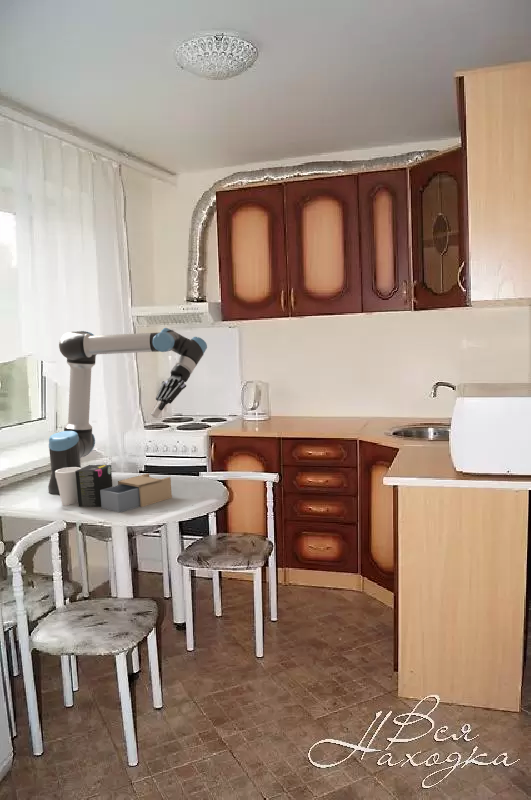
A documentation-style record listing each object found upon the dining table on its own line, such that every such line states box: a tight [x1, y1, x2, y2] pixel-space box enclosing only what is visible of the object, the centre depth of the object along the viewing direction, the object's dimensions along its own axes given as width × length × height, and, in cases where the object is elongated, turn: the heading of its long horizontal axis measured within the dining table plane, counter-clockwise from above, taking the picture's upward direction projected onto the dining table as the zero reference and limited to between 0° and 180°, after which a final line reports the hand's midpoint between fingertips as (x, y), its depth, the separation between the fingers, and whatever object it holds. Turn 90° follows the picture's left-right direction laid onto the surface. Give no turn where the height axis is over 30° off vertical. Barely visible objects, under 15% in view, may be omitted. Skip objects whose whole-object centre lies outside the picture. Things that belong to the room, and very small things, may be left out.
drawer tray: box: [100, 484, 140, 513], centre depth 235 cm, size 11×22×7 cm, turn 139°
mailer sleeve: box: [117, 473, 173, 508], centre depth 238 cm, size 13×14×9 cm
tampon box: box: [75, 464, 113, 508], centre depth 237 cm, size 11×9×15 cm
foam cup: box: [55, 467, 82, 507], centre depth 242 cm, size 10×9×13 cm
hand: (153, 415), depth 253 cm, fingers closed
